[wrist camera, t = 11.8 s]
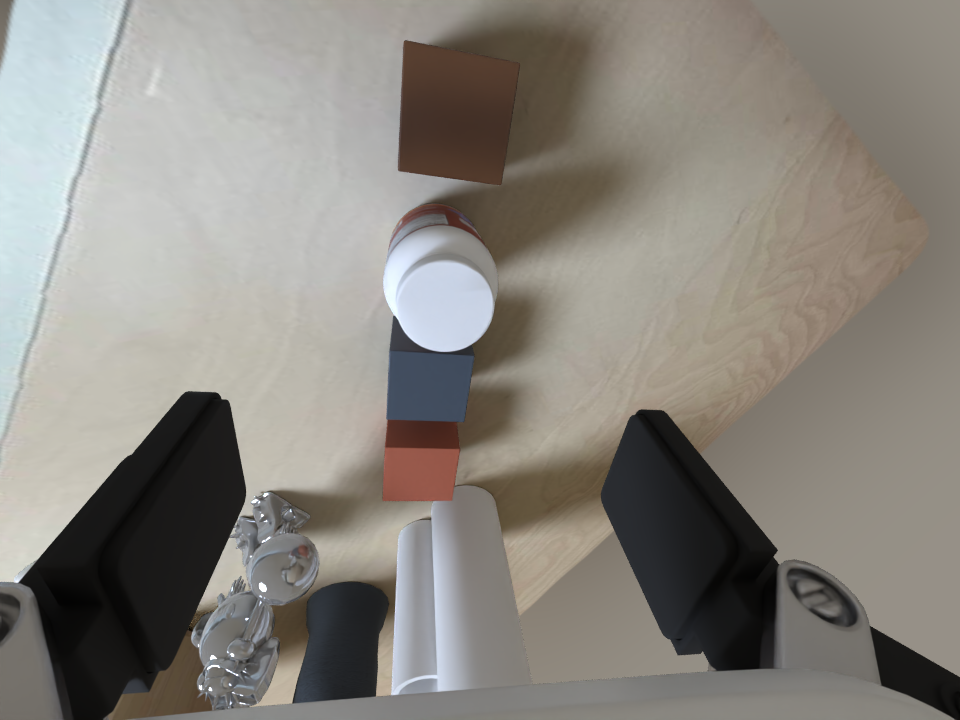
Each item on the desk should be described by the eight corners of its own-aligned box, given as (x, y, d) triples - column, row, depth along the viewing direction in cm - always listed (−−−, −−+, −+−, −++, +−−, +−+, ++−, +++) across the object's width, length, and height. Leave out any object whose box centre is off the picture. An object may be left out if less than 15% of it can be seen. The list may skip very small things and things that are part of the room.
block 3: (389, 403, 35) (384, 447, 31) (454, 405, 36) (460, 449, 32) (386, 453, 38) (382, 501, 33) (447, 454, 39) (452, 501, 34)
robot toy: (292, 445, 36) (224, 628, 23) (355, 474, 39) (325, 654, 26) (214, 544, 41) (120, 742, 28) (275, 564, 43) (215, 754, 30)
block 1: (406, 54, 24) (403, 39, 19) (500, 73, 25) (520, 62, 20) (400, 161, 26) (397, 171, 22) (486, 173, 27) (501, 185, 23)
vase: (458, 475, 40) (488, 740, 23) (512, 503, 43) (575, 758, 26) (388, 542, 44) (370, 817, 27) (443, 564, 47) (459, 824, 30)
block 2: (393, 315, 31) (389, 350, 27) (466, 321, 32) (474, 355, 28) (390, 377, 34) (386, 420, 29) (457, 381, 35) (464, 422, 30)
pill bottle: (489, 275, 31) (524, 344, 21) (409, 301, 31) (408, 382, 21) (464, 188, 28) (492, 224, 18) (375, 218, 28) (356, 269, 18)
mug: (336, 572, 45) (314, 696, 35) (405, 597, 49) (402, 716, 39) (276, 628, 48) (242, 755, 39) (345, 647, 52) (329, 768, 43)
